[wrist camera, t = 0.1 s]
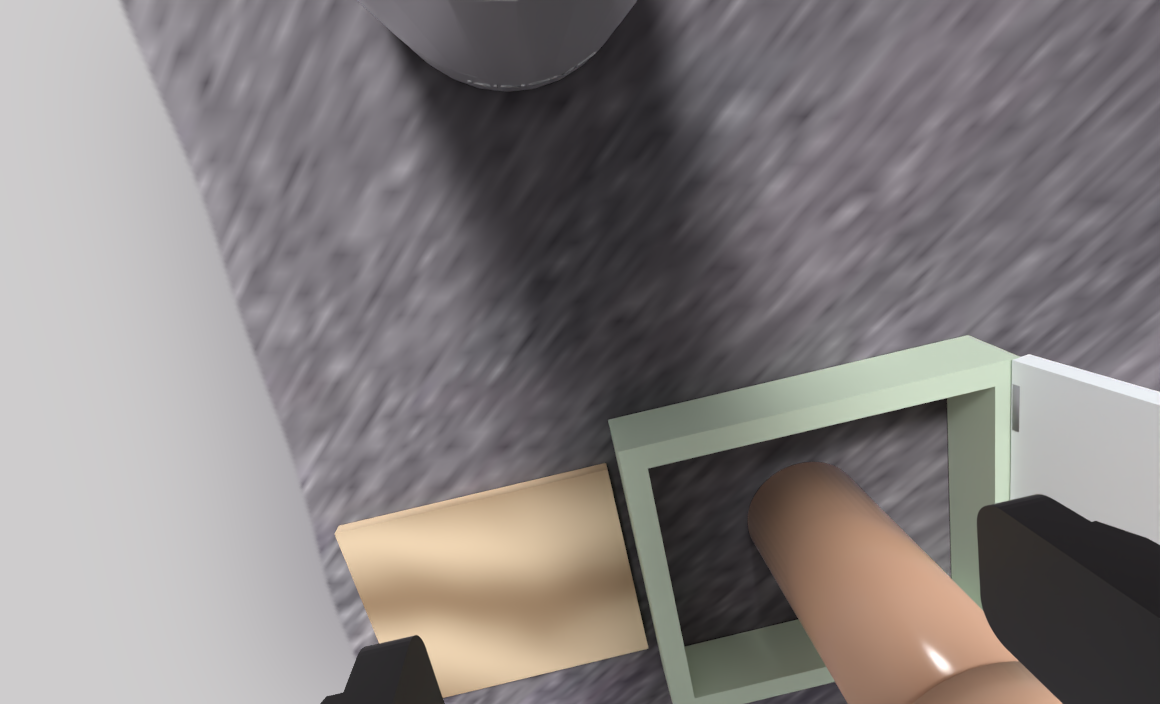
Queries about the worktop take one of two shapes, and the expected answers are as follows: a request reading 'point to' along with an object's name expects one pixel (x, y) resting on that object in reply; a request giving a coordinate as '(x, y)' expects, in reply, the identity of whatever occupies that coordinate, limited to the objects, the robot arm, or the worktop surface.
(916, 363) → the frame
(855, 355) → the worktop surface
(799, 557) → the tan capped bottle
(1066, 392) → the frame lid
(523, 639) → the mat
